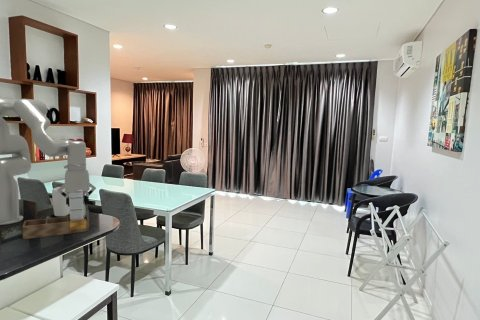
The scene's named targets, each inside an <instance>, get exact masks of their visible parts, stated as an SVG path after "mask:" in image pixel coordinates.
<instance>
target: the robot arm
mask: <svg viewBox="0 0 480 320" xmlns="http://www.w3.org/2000/svg"><path fill="white" fill-rule="evenodd" d="M47 113H48V107H47V105H46V103H44V102H43V101H42V100H38V99H32V98H31V99H30V98H19V99H16V98H5V97H0V156H4V157H0V226H5V225H12V224H15V223H16V224H17V223H19V222H21V221H22V220H23V219H24V216H23V215H20V202H19V201H20V200H19V185H18V182H17V180H16V179H15V176H20V175H25V174H27V173H29V172H30V171H31V168H32V160H31V154H30V150H29V144H28V142H27V140H26V139H25V137H23V136H22V135H19V134H11V131H10V127H9V124H8V122H7V121H6V120H5V118H4V117H16V118H20V119H21V120H22V121H23V122H24V124H26V126H27V127H28V128H29V129H30V130H31V132H32V133H31V136H32V141H33V143H34V145H35V146H36V147H37V148H38V150H40V151H41V152H42V153H43V154H44V155H45V156H48V157H49V158H55V157H56V158H57V157H64V156H65V157H66V156H67V158H66V159H67V164H66V165H63V169H66V171H65V174H64V183H63V184H62V185H61V186H59V187H60V188H59V189H58V192H59V193H60V194H62V195H63V196H64V197H65V198H66V205H67V204H68V207H69V193H74V192H77V191H78V190H83V192H85V206H87V205H88V203H89V202H90V200H89V197H90V196H91V195H92V194H93V192H94V191H96V189H97V187H96V186H95V185H93V183H91V182H90V174H89V170H88V169H87V149H86V147H87V145H86V144H87V143H85V141H83V140H71V139H52V138H51V137H50V136H49V135H48V134H47V132H46V130H48V128H49V127H50V125H51V120H50V118H48V117H47ZM5 155H6V156H7V155H11V156H7V157H6V156H5ZM64 188H65V192H67V193H64V192H63V191H62V190H63V189H64Z"/></svg>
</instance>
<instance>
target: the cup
mask: <svg viewBox="0 0 480 320" xmlns="http://www.w3.org/2000/svg"><path fill="white" fill-rule="evenodd" d="M60 187H61V186H57V187H54V188H52V189H51V196H52V197H51V199H52V208H53V209H52V210H53V214H54V216H55V217H56V218H57V217H67V216H69V215H70V206H69V207H68V204H67V205H66V198H65V197H64V196H63V195H62V194H60V193H59V192H58V189H59V188H60ZM62 191H63V192H64V193H67V192H65V188H64V189H63V190H62Z"/></svg>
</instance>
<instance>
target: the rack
mask: <svg viewBox="0 0 480 320" xmlns="http://www.w3.org/2000/svg"><path fill="white" fill-rule="evenodd" d="M89 219H90V218H89V216H88V214H86V216H85V218H84V219H83V220H70V215H67V216H64V217H57V216H56V217H48V218H39V219H28V220H24V221H23V224H22V240H28V239H36V238H45V237H52V236H60V235H67V234H68V235H69V234H77V233H83V232H84V233H85V232H89V231H90V223H89V222H90V220H89Z"/></svg>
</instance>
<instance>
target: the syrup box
mask: <svg viewBox="0 0 480 320" xmlns="http://www.w3.org/2000/svg"><path fill="white" fill-rule="evenodd" d="M85 195H86V194H85V192H83V190H78V191H77V192H74V193H69V206H70V214H69V216H70V220H83V219H84V218H85V216H86V215H87V214H86V205H85Z"/></svg>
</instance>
